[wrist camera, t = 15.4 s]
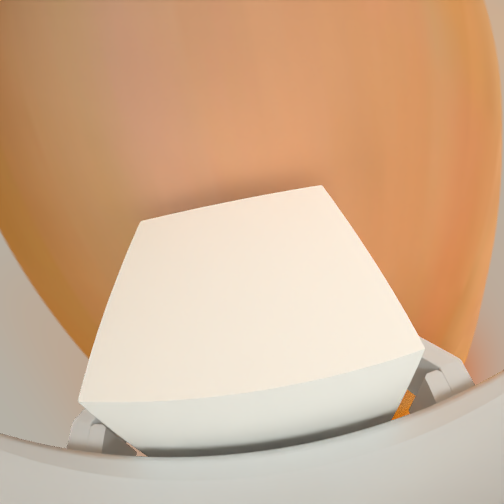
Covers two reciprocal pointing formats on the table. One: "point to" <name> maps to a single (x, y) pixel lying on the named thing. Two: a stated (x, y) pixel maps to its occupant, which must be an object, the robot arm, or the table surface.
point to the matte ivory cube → (248, 331)
